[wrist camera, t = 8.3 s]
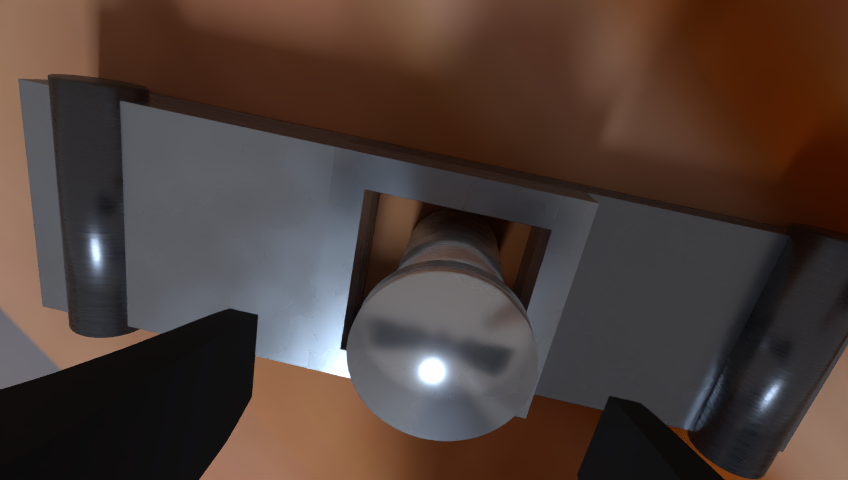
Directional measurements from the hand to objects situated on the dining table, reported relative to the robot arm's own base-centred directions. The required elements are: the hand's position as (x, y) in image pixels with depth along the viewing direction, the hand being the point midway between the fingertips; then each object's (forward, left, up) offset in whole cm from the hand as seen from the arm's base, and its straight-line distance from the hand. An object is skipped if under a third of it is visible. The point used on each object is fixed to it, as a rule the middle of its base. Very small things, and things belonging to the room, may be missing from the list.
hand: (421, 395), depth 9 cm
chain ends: (0, 0, -8) cm, 8 cm away
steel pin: (+1, 0, -8) cm, 8 cm away
